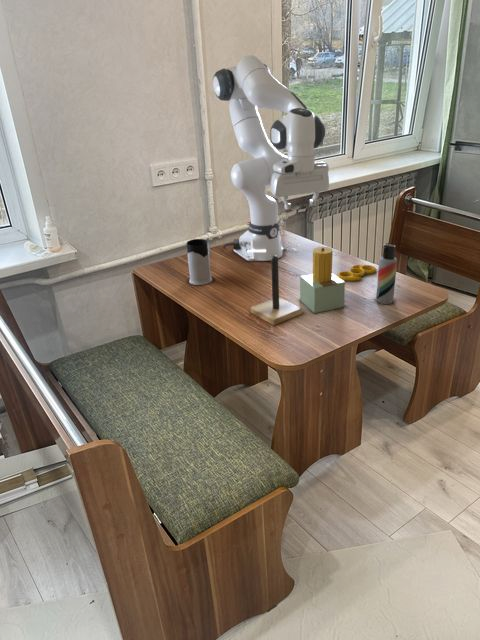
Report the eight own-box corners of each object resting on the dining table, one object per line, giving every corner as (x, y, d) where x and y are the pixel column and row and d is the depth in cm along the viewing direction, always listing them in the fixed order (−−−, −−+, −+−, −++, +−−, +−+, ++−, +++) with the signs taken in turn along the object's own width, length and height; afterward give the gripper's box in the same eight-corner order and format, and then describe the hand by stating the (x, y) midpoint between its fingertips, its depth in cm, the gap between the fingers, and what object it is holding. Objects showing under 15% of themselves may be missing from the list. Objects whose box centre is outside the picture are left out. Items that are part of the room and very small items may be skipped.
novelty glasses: (330, 275, 201) (347, 283, 193) (331, 271, 200) (347, 280, 193) (365, 265, 208) (382, 273, 200) (365, 262, 207) (382, 270, 199)
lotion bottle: (372, 299, 182) (377, 243, 171) (386, 295, 183) (391, 240, 173) (382, 305, 177) (387, 248, 167) (396, 302, 179) (402, 245, 169)
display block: (300, 300, 183) (300, 276, 178) (328, 294, 186) (329, 270, 182) (314, 313, 174) (314, 288, 170) (343, 306, 178) (345, 282, 173)
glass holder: (185, 283, 199) (180, 245, 192) (201, 269, 211) (198, 232, 203) (206, 286, 196) (202, 247, 189) (221, 271, 208) (218, 234, 200)
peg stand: (250, 312, 176) (247, 255, 166) (278, 302, 183) (276, 246, 172) (273, 325, 168) (271, 265, 158) (301, 313, 174) (301, 255, 164)
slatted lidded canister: (309, 277, 177) (309, 246, 172) (326, 274, 179) (326, 243, 174) (321, 287, 170) (322, 255, 165) (339, 283, 172) (340, 252, 166)
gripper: (323, 159, 177) (322, 201, 184) (268, 165, 170) (269, 209, 176) (333, 162, 172) (331, 205, 179) (277, 168, 165) (277, 213, 171)
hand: (300, 207), depth 178 cm, fingers open, 8 cm apart
